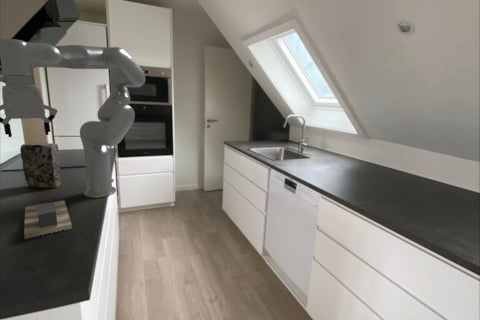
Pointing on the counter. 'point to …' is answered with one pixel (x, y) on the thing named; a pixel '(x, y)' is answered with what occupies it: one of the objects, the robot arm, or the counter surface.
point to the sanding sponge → (47, 216)
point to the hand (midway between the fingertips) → (29, 135)
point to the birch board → (33, 222)
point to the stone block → (41, 165)
